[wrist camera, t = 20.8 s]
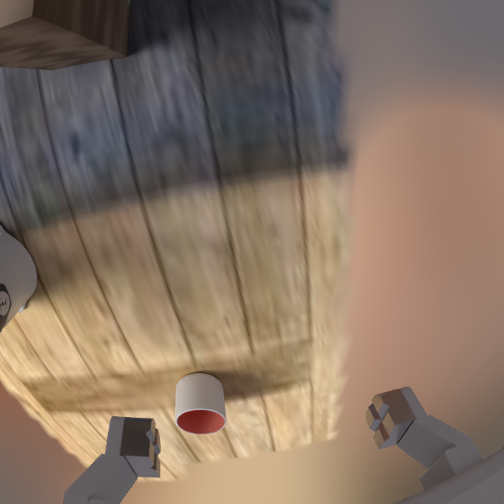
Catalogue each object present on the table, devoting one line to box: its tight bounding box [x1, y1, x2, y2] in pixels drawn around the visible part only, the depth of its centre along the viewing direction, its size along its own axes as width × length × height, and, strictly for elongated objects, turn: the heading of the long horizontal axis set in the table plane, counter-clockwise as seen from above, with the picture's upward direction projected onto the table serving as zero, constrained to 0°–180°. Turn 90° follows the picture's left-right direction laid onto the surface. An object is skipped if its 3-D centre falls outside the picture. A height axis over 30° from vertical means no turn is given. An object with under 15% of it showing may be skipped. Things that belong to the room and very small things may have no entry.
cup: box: [175, 373, 226, 434], centre depth 60 cm, size 10×10×10 cm
